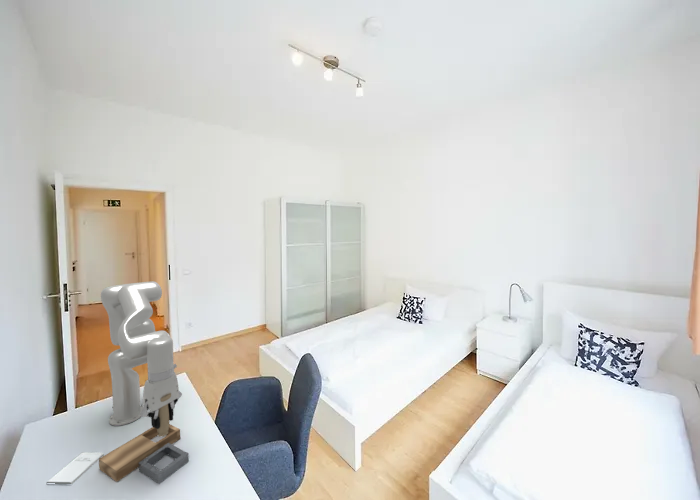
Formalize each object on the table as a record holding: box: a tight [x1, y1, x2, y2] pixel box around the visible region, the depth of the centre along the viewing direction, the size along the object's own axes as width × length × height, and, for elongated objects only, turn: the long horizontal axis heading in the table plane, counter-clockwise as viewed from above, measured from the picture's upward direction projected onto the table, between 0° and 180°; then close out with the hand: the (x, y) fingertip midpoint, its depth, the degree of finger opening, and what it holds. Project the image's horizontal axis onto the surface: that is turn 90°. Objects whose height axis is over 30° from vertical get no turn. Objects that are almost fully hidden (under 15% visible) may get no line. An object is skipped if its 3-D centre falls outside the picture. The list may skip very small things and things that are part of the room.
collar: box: [138, 443, 190, 485], centre depth 102 cm, size 12×10×3 cm
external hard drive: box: [45, 452, 105, 485], centre depth 100 cm, size 2×8×12 cm
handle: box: [157, 393, 171, 438], centre depth 100 cm, size 5×6×15 cm
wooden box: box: [98, 423, 181, 483], centre depth 107 cm, size 11×22×4 cm, turn 155°
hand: (162, 422), depth 101 cm, fingers closed on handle, 3 cm apart
